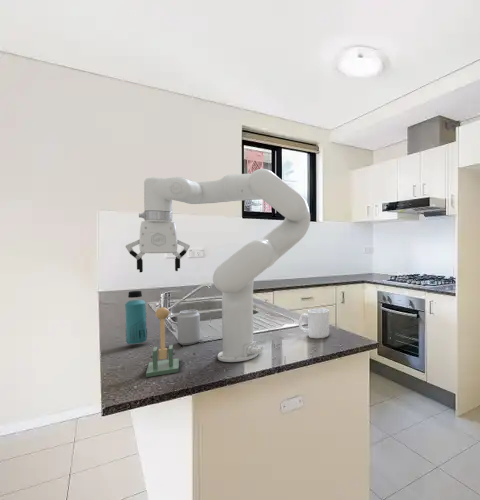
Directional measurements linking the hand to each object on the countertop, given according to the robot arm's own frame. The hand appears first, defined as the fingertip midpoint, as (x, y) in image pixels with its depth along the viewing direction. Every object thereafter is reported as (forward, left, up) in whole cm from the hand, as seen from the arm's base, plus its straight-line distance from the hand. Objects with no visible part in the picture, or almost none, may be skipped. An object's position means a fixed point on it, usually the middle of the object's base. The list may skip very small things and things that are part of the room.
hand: (159, 271), depth 113 cm
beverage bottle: (+22, -10, -29) cm, 38 cm away
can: (+6, -18, -29) cm, 34 cm away
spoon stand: (-8, +6, -29) cm, 30 cm away
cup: (-35, -39, -29) cm, 59 cm away
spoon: (-6, +4, -18) cm, 19 cm away
